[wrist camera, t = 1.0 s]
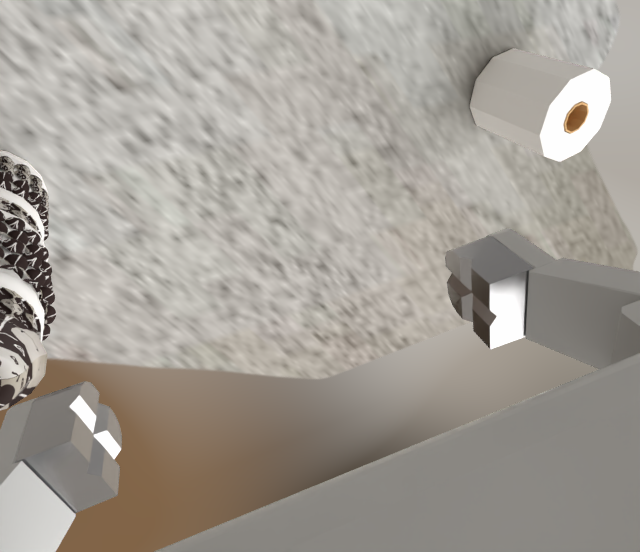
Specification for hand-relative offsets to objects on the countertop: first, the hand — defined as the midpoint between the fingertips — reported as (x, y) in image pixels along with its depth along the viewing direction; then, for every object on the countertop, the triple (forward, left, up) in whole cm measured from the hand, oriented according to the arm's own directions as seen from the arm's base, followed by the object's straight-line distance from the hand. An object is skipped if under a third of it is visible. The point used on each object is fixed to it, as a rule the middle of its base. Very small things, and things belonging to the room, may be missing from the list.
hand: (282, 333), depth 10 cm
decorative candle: (+6, -16, -41) cm, 45 cm away
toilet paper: (+28, +39, -41) cm, 63 cm away
